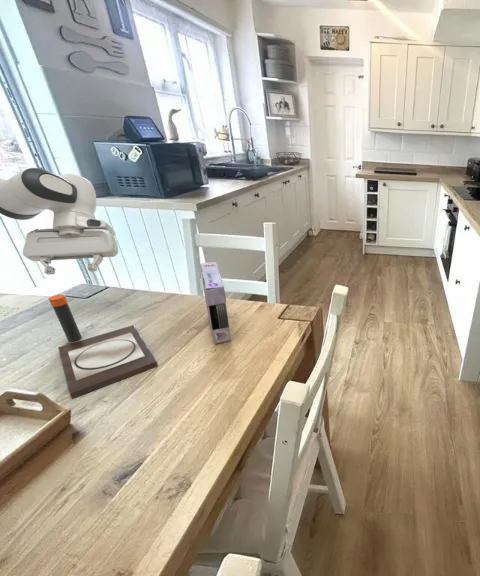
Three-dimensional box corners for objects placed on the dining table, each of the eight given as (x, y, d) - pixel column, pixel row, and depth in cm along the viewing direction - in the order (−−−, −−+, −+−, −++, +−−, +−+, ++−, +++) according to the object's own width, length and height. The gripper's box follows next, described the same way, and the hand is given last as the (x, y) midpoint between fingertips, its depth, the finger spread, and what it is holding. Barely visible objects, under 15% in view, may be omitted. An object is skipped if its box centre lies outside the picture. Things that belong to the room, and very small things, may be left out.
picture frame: (60, 352, 83) (57, 346, 82) (135, 329, 94) (133, 323, 93) (72, 398, 70) (69, 392, 69) (158, 366, 80) (156, 360, 80)
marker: (65, 343, 86) (46, 300, 80) (70, 336, 89) (52, 294, 83) (79, 341, 87) (61, 298, 81) (84, 335, 90) (66, 293, 84)
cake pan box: (234, 342, 91) (224, 286, 83) (214, 347, 88) (202, 289, 80) (225, 311, 105) (215, 260, 97) (207, 314, 103) (197, 263, 95)
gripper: (19, 223, 87) (13, 271, 83) (111, 221, 94) (110, 264, 90) (35, 235, 93) (30, 279, 89) (121, 231, 100) (120, 273, 96)
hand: (71, 272), depth 90 cm, fingers open, 8 cm apart
